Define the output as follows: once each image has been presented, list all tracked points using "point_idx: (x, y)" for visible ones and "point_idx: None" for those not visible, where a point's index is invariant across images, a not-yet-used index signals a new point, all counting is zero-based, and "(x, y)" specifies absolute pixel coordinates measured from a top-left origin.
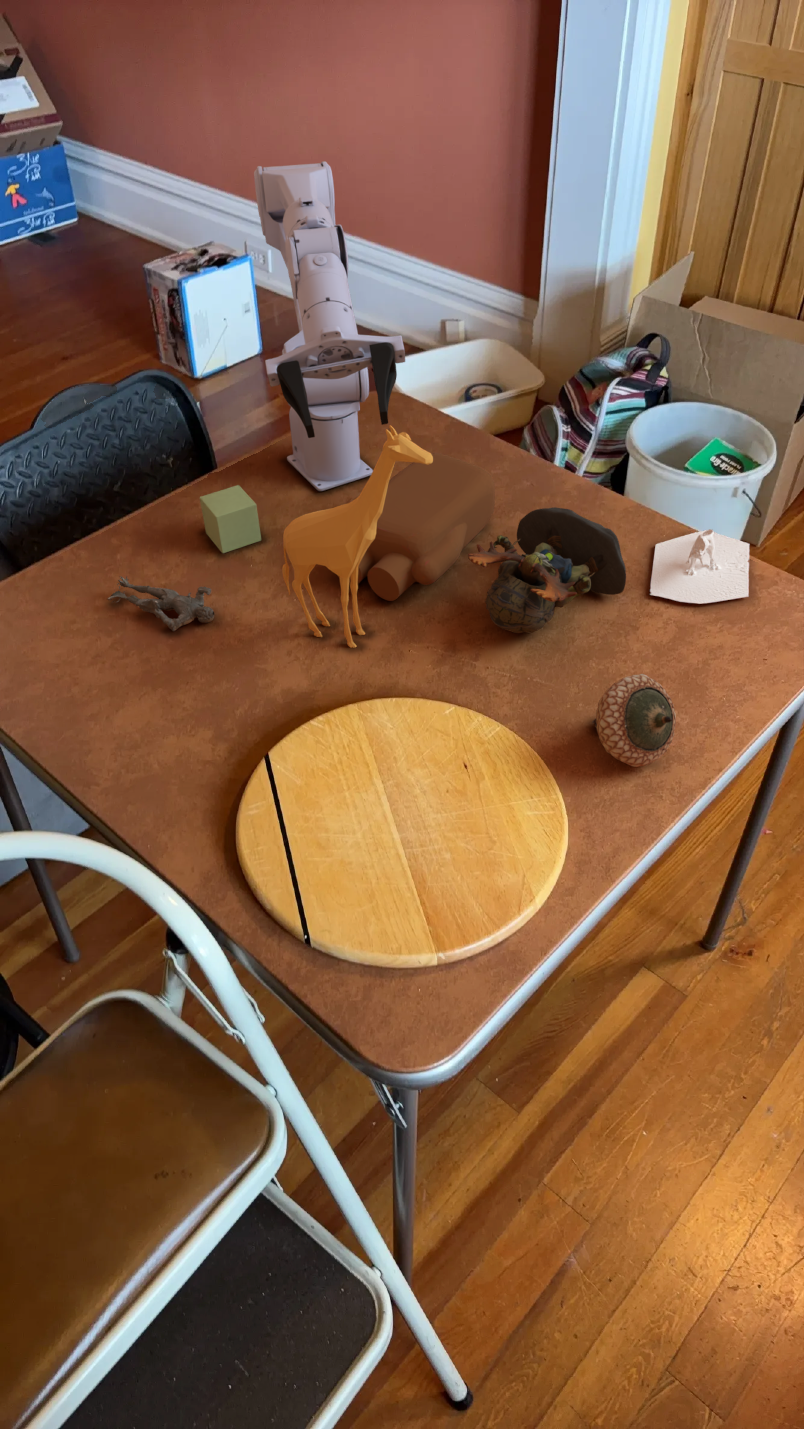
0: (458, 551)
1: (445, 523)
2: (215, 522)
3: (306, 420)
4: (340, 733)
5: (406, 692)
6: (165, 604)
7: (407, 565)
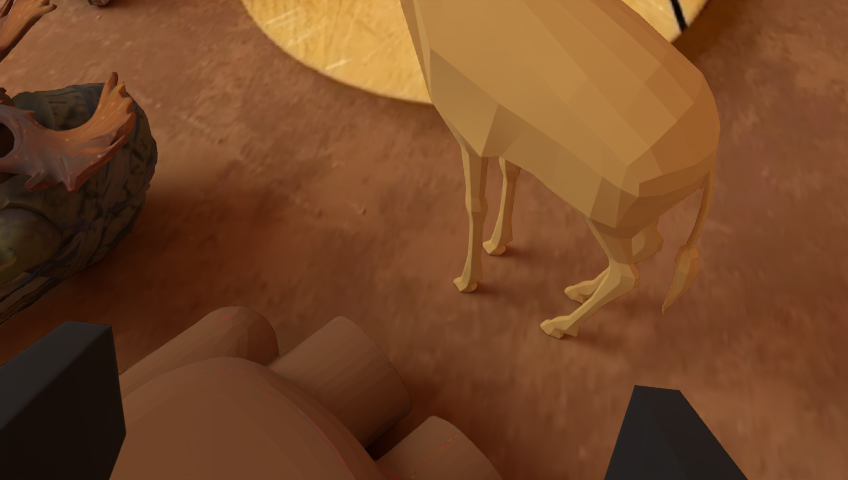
0: None
1: None
2: None
3: (682, 405)
4: None
5: (403, 111)
6: None
7: (283, 357)
